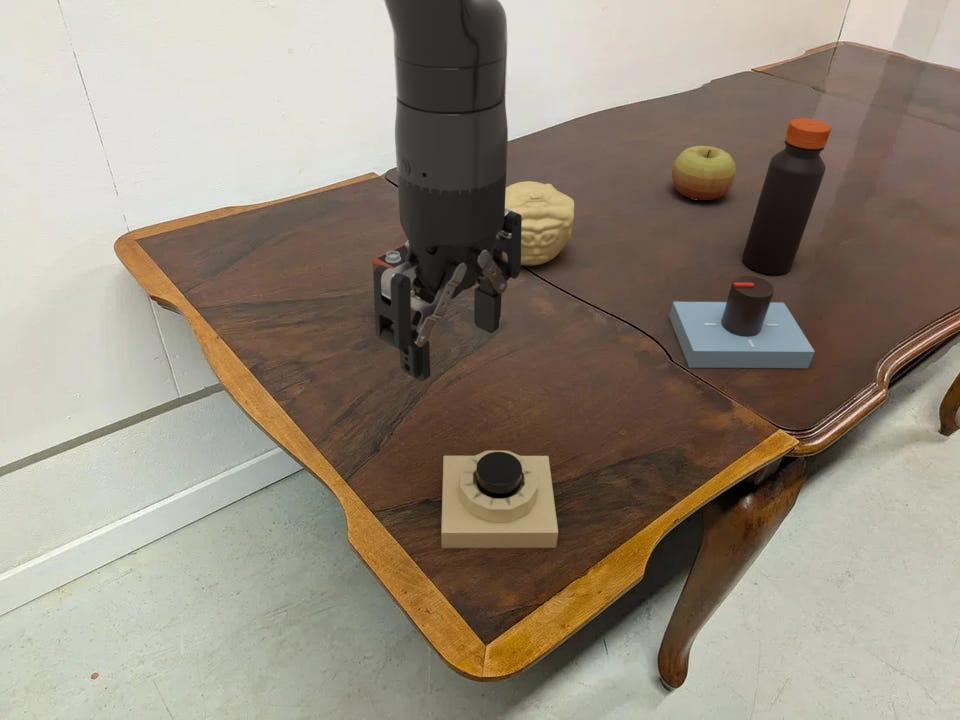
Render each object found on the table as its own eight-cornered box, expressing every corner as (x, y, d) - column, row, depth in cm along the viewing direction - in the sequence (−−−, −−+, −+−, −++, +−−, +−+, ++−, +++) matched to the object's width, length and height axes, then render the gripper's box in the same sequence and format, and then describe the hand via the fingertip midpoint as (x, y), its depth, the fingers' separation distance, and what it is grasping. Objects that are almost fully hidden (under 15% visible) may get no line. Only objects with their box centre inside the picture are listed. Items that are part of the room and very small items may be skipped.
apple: (692, 212, 113) (703, 164, 108) (656, 187, 120) (665, 141, 115) (741, 202, 116) (753, 155, 111) (703, 178, 123) (713, 133, 118)
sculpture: (494, 278, 96) (497, 206, 89) (480, 235, 105) (482, 166, 98) (576, 273, 97) (585, 201, 91) (555, 231, 107) (562, 163, 100)
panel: (778, 318, 90) (784, 301, 88) (808, 368, 82) (815, 350, 81) (669, 317, 90) (673, 300, 88) (688, 367, 82) (693, 349, 80)
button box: (546, 471, 69) (550, 442, 66) (556, 548, 62) (560, 519, 59) (443, 471, 69) (443, 441, 66) (441, 548, 62) (441, 519, 59)
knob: (753, 314, 86) (767, 273, 83) (766, 336, 83) (780, 295, 79) (716, 313, 86) (728, 272, 82) (727, 336, 83) (740, 294, 79)
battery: (439, 314, 89) (438, 243, 83) (399, 337, 85) (395, 265, 79) (415, 300, 91) (412, 231, 85) (375, 322, 87) (369, 251, 81)
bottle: (771, 248, 104) (815, 113, 92) (801, 272, 99) (851, 132, 87) (731, 255, 102) (770, 117, 90) (760, 279, 97) (805, 137, 85)
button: (519, 464, 65) (520, 451, 63) (522, 498, 61) (523, 485, 60) (475, 464, 64) (476, 451, 63) (476, 498, 61) (476, 485, 60)
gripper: (418, 215, 42) (427, 415, 52) (557, 147, 51) (541, 330, 61) (335, 179, 46) (358, 373, 56) (477, 121, 55) (474, 298, 65)
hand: (453, 350), depth 58 cm, fingers open, 8 cm apart
